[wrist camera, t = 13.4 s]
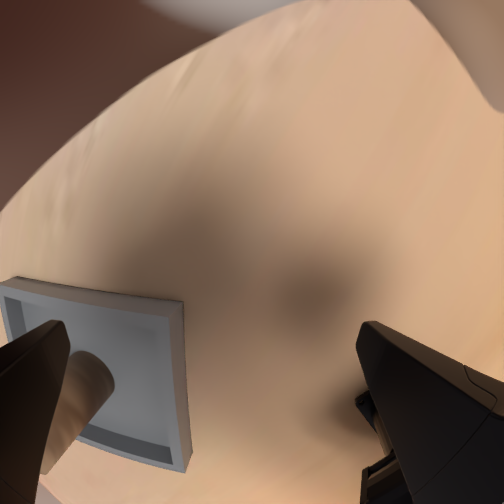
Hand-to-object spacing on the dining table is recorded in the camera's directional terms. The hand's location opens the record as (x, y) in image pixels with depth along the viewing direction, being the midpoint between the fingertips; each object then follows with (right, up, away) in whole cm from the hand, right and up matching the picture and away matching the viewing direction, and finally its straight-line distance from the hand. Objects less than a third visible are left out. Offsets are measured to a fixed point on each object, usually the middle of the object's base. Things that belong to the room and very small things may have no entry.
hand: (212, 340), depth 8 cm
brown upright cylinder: (-13, -9, +14) cm, 21 cm away
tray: (-13, -8, +15) cm, 22 cm away
